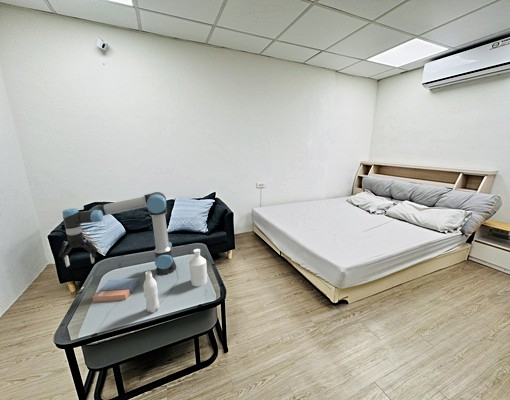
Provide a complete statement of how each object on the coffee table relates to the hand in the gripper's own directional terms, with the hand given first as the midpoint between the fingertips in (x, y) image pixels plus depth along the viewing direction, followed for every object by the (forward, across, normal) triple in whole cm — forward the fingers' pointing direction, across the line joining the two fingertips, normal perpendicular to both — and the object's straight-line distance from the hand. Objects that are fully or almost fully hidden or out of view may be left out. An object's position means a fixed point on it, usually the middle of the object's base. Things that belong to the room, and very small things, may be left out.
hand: (80, 264), depth 139 cm
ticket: (+22, -20, 0) cm, 30 cm away
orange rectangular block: (+23, -17, +9) cm, 30 cm away
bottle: (+22, -73, +10) cm, 77 cm away
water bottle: (+22, -44, +30) cm, 58 cm away
